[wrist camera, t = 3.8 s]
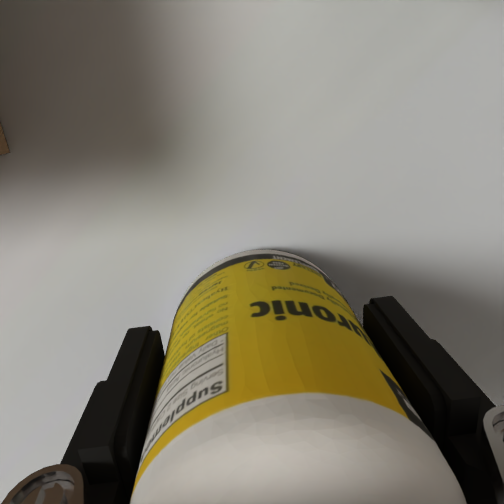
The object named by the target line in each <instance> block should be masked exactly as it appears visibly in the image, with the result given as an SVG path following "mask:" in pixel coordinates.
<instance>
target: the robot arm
mask: <svg viewBox="0 0 504 504" xmlns="http://www.w3.org/2000/svg"><path fill="white" fill-rule="evenodd" d="M363 328H364V330H365V332H366V333H367V335H368V337H369V338H370V340H371V341H372V343H373V345H374V346H375V348H376V350H377V351H378V353H379V354H380V356H381V358H382V359H383V361H384V362H385V364H386V366H387V367H388V368H389V370H390V372H391V373H392V375H393V377H394V378H395V379H396V381H397V382H398V384H399V386H400V387H401V389H402V390H403V392H404V394H405V395H406V397H407V398H408V400H409V401H410V403H411V405H412V406H413V408H414V409H415V411H416V412H417V414H418V415H419V417H420V419H421V420H422V422H423V423H424V425H425V426H426V428H427V429H428V431H429V432H430V433H431V435H432V437H433V439H434V440H435V442H436V444H437V446H438V448H439V450H440V451H441V453H442V455H443V457H444V458H445V460H446V461H447V463H448V465H449V467H450V468H451V470H452V471H453V473H454V475H455V477H456V479H457V481H458V483H459V485H460V487H461V489H462V492H463V494H464V497H465V500H466V503H467V504H504V405H501V406H497V407H496V406H495V405H494V404H493V403H492V402H491V401H490V399H489V398H488V397H487V396H486V395H485V394H484V393H483V392H482V391H481V389H480V388H479V387H478V386H477V385H476V384H475V383H474V382H473V381H472V379H471V378H470V377H469V376H468V375H467V374H466V373H465V372H464V371H463V369H462V368H461V367H460V366H459V365H458V364H457V363H456V362H455V361H454V359H453V358H452V357H451V356H450V355H449V354H448V353H447V352H446V351H445V349H444V348H443V347H442V346H441V345H440V344H439V343H438V342H437V341H436V340H433V339H430V338H429V337H428V336H427V335H426V333H425V332H424V331H423V330H422V329H421V328H420V327H419V326H418V324H417V323H416V322H415V321H414V320H413V319H412V318H411V316H410V315H409V314H408V313H407V312H406V311H405V310H404V308H403V307H402V306H401V305H400V304H399V303H398V302H397V300H396V299H395V298H394V297H393V296H388V297H380V298H371V300H370V302H369V304H365V305H364V308H363ZM164 358H165V355H164V350H163V345H162V341H161V336H160V333H159V331H158V330H156V331H153V330H152V328H151V327H150V326H145V327H137V328H130V329H128V331H127V333H126V336H125V338H124V340H123V343H122V345H121V347H120V350H119V352H118V355H117V357H116V359H115V362H114V364H113V366H112V369H111V371H110V374H109V376H108V378H107V381H100V382H99V383H97V385H96V386H95V388H94V390H93V393H92V395H91V397H90V399H89V401H88V404H87V406H86V408H85V410H84V412H83V415H82V417H81V419H80V421H79V424H78V426H77V428H76V430H75V432H74V435H73V437H72V439H71V441H70V443H69V446H68V448H67V450H66V452H65V454H64V457H63V459H62V461H61V463H60V464H56V465H52V466H49V467H45V468H43V469H40V470H38V471H36V472H34V473H32V474H31V475H29V476H28V477H26V478H25V479H23V480H22V481H21V482H19V483H18V484H17V485H16V486H15V487H14V488H13V489H12V490H11V491H10V492H9V493H8V495H7V496H6V498H5V499H4V500H3V502H2V503H1V504H130V500H131V496H132V492H133V488H134V484H135V479H136V474H137V471H138V468H139V464H140V459H141V455H142V451H143V447H144V444H145V439H146V434H147V430H148V425H149V422H150V417H151V413H152V409H153V405H154V401H155V396H156V392H157V388H158V384H159V380H160V376H161V371H162V367H163V363H164Z"/></svg>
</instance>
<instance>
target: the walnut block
mask: <svg viewBox="0 0 504 504" xmlns="http://www.w3.org/2000/svg"><path fill="white" fill-rule="evenodd" d="M7 153H10V152H9V149H8V145H7V142H6V139H5V136H4V133H3V130H2V126H1V123H0V155H2V154H7Z"/></svg>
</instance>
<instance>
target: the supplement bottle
mask: <svg viewBox="0 0 504 504" xmlns="http://www.w3.org/2000/svg"><path fill="white" fill-rule="evenodd" d="M130 504H467V503H466V500H465V497H464V494H463V492H462V489H461V487H460V485H459V483H458V481H457V479H456V477H455V475H454V473H453V471H452V470H451V468H450V467H449V465H448V463H447V461H446V460H445V458H444V457H443V455H442V453H441V451H440V450H439V448H438V446H437V444H436V442H435V440H434V439H433V437H432V435H431V433H430V432H429V431H428V429H427V428H426V426H425V425H424V423H423V422H422V420H421V419H420V417H419V415H418V414H417V412H416V411H415V409H414V408H413V406H412V405H411V403H410V401H409V400H408V398H407V397H406V395H405V394H404V392H403V390H402V389H401V387H400V386H399V384H398V382H397V381H396V379H395V378H394V377H393V375H392V373H391V372H390V370H389V368H388V367H387V366H386V364H385V362H384V361H383V359H382V358H381V356H380V354H379V353H378V351H377V350H376V348H375V346H374V345H373V343H372V341H371V340H370V338H369V337H368V335H367V333H366V332H365V330H364V328H363V327H362V325H361V324H360V322H359V321H358V319H357V318H356V316H355V314H354V313H353V311H352V310H351V308H350V306H349V304H348V302H347V300H346V299H345V298H344V296H343V295H342V294H341V292H340V291H339V289H338V288H337V286H336V285H335V284H334V283H333V281H332V280H331V279H330V278H329V277H328V276H327V275H326V274H325V273H324V272H323V271H322V270H321V269H319V268H318V267H317V266H316V265H314V264H313V263H311V262H309V261H307V260H306V259H304V258H302V257H299V256H297V255H294V254H290V253H287V252H282V251H276V250H251V251H245V252H241V253H237V254H234V255H231V256H228V257H226V258H224V259H222V260H220V261H218V262H216V263H215V264H213V265H212V266H210V267H209V268H207V269H206V270H205V271H204V272H202V273H201V274H200V275H199V276H198V277H197V278H196V279H195V280H194V281H193V282H192V284H191V285H190V286H189V288H188V289H187V291H186V292H185V294H184V296H183V297H182V299H181V302H180V304H179V306H178V309H177V312H176V314H175V317H174V320H173V325H172V329H171V333H170V338H169V342H168V346H167V350H166V355H165V358H164V363H163V367H162V371H161V376H160V380H159V384H158V388H157V392H156V396H155V401H154V405H153V409H152V413H151V417H150V422H149V425H148V430H147V434H146V439H145V444H144V447H143V451H142V455H141V459H140V464H139V468H138V471H137V474H136V479H135V484H134V488H133V492H132V496H131V500H130Z"/></svg>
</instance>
